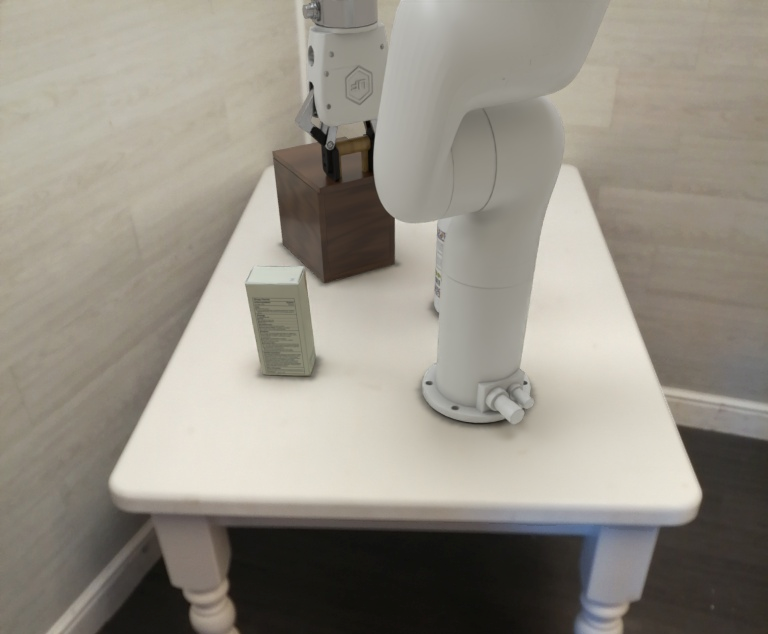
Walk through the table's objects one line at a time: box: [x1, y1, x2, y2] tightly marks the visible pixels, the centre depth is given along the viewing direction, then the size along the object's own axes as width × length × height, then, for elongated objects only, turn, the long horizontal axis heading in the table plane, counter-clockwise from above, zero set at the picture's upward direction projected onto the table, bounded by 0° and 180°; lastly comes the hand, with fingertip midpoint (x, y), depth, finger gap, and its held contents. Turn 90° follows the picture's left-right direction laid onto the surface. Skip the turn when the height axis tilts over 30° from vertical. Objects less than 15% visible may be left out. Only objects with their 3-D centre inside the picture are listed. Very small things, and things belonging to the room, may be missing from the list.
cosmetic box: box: [244, 265, 317, 377], centre depth 85 cm, size 6×4×12 cm
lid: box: [271, 135, 375, 194], centre depth 99 cm, size 16×12×5 cm
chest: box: [272, 156, 396, 284], centre depth 106 cm, size 15×12×13 cm
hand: (351, 172), depth 97 cm, fingers closed on lid, 5 cm apart
